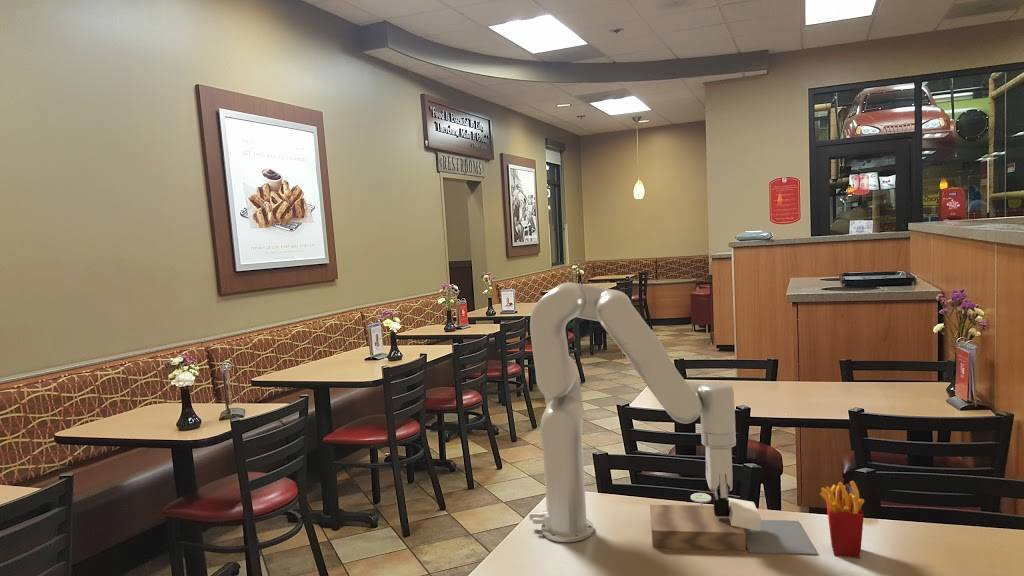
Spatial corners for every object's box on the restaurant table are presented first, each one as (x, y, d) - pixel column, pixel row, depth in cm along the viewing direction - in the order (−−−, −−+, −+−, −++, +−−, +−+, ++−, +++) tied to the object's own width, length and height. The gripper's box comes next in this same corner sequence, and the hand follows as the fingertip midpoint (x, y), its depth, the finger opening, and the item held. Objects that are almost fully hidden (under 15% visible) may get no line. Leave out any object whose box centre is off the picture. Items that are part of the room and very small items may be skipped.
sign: (690, 517, 155) (690, 492, 170) (690, 520, 156) (690, 495, 170) (712, 518, 154) (710, 493, 168) (712, 522, 154) (711, 496, 168)
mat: (748, 552, 137) (748, 551, 137) (736, 520, 153) (736, 519, 153) (817, 554, 134) (817, 553, 134) (798, 521, 150) (798, 520, 150)
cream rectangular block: (731, 525, 141) (733, 513, 140) (725, 508, 150) (727, 497, 149) (759, 530, 140) (761, 518, 139) (751, 513, 149) (753, 502, 148)
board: (652, 547, 142) (651, 530, 142) (650, 520, 156) (649, 504, 155) (745, 550, 138) (745, 532, 138) (735, 522, 152) (734, 506, 152)
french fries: (866, 561, 131) (864, 491, 130) (822, 556, 134) (820, 488, 133) (858, 541, 139) (857, 475, 138) (817, 537, 142) (815, 473, 141)
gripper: (698, 427, 152) (701, 501, 153) (705, 448, 138) (708, 529, 139) (730, 427, 151) (733, 502, 152) (741, 448, 136) (744, 530, 137)
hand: (721, 514), depth 145 cm, fingers closed
